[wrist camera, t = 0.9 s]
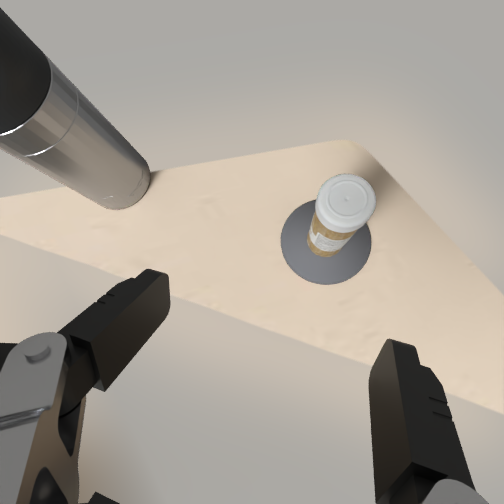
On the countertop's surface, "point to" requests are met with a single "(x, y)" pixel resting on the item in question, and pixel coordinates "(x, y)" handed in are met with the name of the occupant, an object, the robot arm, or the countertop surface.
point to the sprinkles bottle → (339, 213)
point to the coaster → (315, 265)
